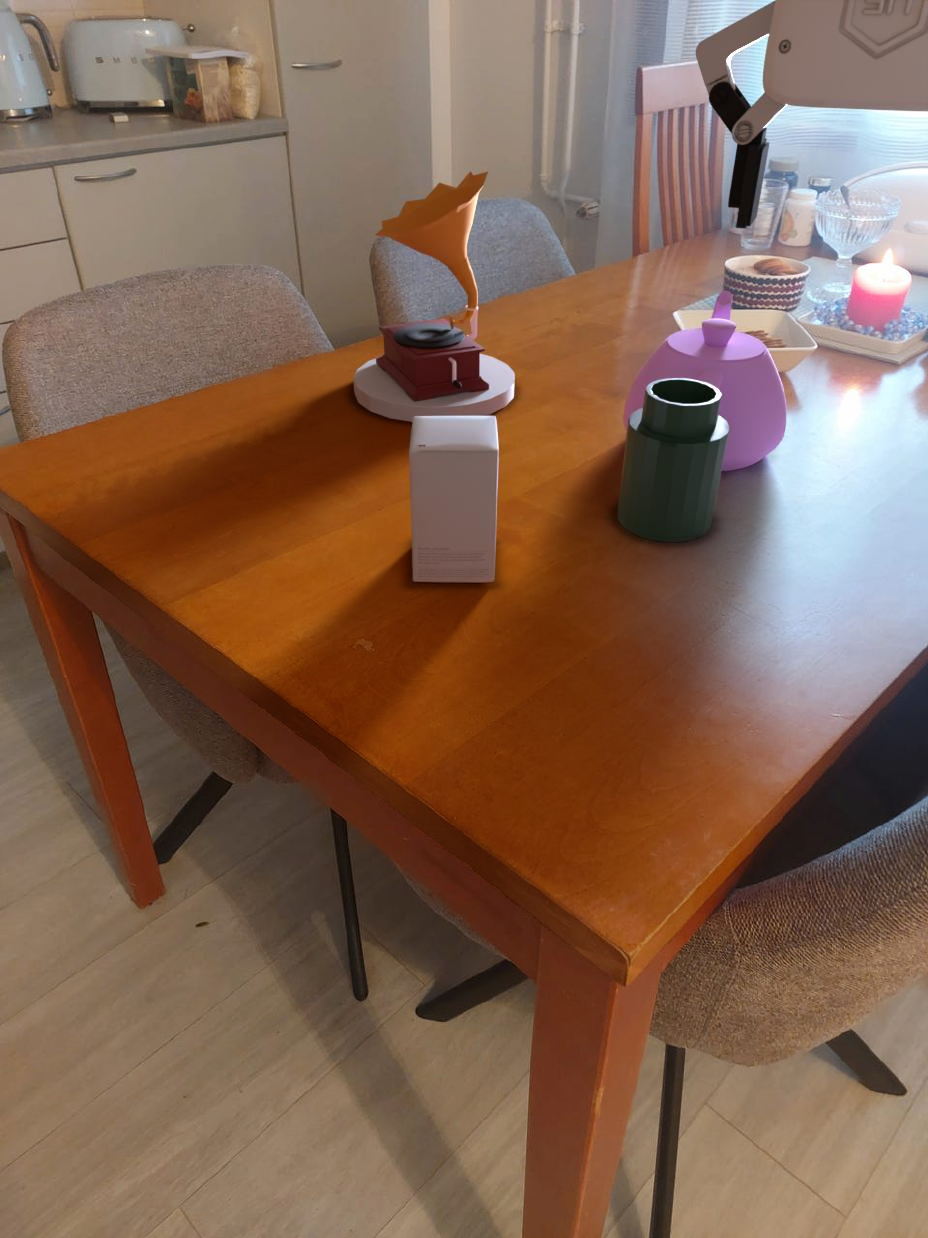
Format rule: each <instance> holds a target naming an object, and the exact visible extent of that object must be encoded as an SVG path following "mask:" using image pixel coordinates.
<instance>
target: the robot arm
mask: <svg viewBox="0 0 928 1238" xmlns="http://www.w3.org/2000/svg"><path fill="white" fill-rule="evenodd" d="M767 36H768V37H767ZM765 37H767V41H766V49H765V54H764V61H763V69H762V88H763V91H764V93H763V94H762V95H761V96H760V97H759V98H758V99H757V100H756V101H755V102H754V103H752V105H751V104H750V102H749V101H748V100H747V98H746V97H745V96H744V94H743V93H742V91H741V90H740V88H739V86H737V84H736V82H735V80H734V77H733V74H732V72H733V71H732V69H731V60H732V57H733V56H734V55H735V54H736V53H738V52H740V51H741V50H743V49H745V48H747V47H749V46H751V45H753V44H755V43H756V42H759V41H760V40H762V39H764V38H765ZM695 57H696V61H697V65H698V67H699V71H700V73H701V78H702V80H703V83H704V86H705V88H706V92H707V94H708V95H707V96H708V102H709V104H710V106H711V107H712V109H713V110H714V111H715V113H716V114H717V116H718V117H719V118H720V120H721V122H723V124H724V125H725V127H726V128H727V130H728V131H729V132H730V134H731V137H732V140H733V141H734V142H735V143H736V148H735V149H736V150H735V155H734V163H733V169H732V175H731V182H730V188H729V195H728V202H727V208H731V209H737V210H738V212H737V216H736V217H737V218H736V223H735V228H736V229H744V230H745V229H747V228H748V227H752V224H753V223H754V221H756V218H757V215H758V211H759V206H760V200H761V194H762V188H763V184H764V183H763V182H764V176H765V171H766V166H767V161H768V153H769V149H770V141H767V138H766V136H767V131H768V128H767V126H768V125H769V124H770V123H771V122H772V121H773V120H774V119H775V117H776V116H778V115H779V114H780V112H782V111H783V109H784V108H785V107H787V106H792V107H800V108H802V107H803V108H819V109H844V110H845V109H846V110H866V111H867V110H870V111H894V112H895V111H896V112H897V111H899V112H928V0H774V1H771V2H770V3H768V4H766V5H764V6H762V7H760V8H758V9H757V10H755V11H753V12H752V13H750V14H748V15H746V16H744V17H743V18H741V19H739V20H737V21H734V22H733V23H732V24H730V25H728V26H727V27H723V28H722V29H721V30H719V31H717V32H715V33H713V34H712V35H710V36H708V37H706V38H705V39H702V40H701V41H700V42H698V44H697V46H696V48H695Z"/></svg>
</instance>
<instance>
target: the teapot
mask: <svg viewBox="0 0 928 1238" xmlns="http://www.w3.org/2000/svg"><path fill="white" fill-rule="evenodd" d="M732 306H733V294H732V292H731V291H729V290H723V291H721V292H719V293H718V295H717V297H716V300H715V303H714V307H713V311H712V314H711V317H710V318H708V319H705V320H703V321H701V327H699V328H687V329H682V330H677V331H676V332H673V333H672V334H670V335H668V336H667V337H666V338H665V339H664V340H663V341H662V343H661V344H659V346H657V348H656V349H655V350H654V351H653V353H652V354H651V355H650V356H649V358H648V359H647V360H646V362H645V363H644V364H643V365H642V367H641V369H640V370H639V372H638V373H637V375H636V377H635V378H634V381H633V383H632V384H631V387H630V389H629V391H628V393H627V397H626V400H625V404H624V408H623V415H622V422H623V426H624V429H625V431H626V432H627V426H628V419H629V417H630V415H631V414H632V413H633V412H634V411H636V410H638V409H640V408H643V403H644V396H645V389H646V387H647V386H648V384H650V383H652V382H654V381H656V380H661V379H667V378H686V379H693V380H698V381H702V382H705V383H708V384H711V385H712V386H714V387H716V388H718V389H719V391H720V392H721V394H722V396H721V402H720V408H719V413H718V415H719V416H721V417H722V418H723V419H725V420H726V421H727V423H728V425H729V428H730V429H729V434H728V440H727V445H726V450H725V456H724V461H723V466H722V471H721V472H729V471H730V472H731V471H736V470H740V469H746V468H748V467H750V466H753V465H755V464H756V463H758V462H759V461H761V460H762V459H764V458H765V457H766V456H768V455H769V454H771V453H772V452H773V451H774V450H775V449H776V448H777V447H778V446H779V445H780V444H781V443H782V441H783V439H784V437H785V431H786V427H787V414H788V412H787V400H786V395H785V394H786V393H785V389H784V385H783V382H782V380H781V376H780V374H779V372H778V368H777V366H776V364H775V362H774V359H773V356H772V355H771V352H770V351H769V349H768V347H767V345H765V343H764V342H762V341H761V340H760V339H759V338H758V337H755V336H753V335H750V334H748V333H744V332H741V331H736V329H737V323H735V322H734V321H732V320H731V312H732V311H731V310H732Z"/></svg>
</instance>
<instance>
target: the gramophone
mask: <svg viewBox="0 0 928 1238" xmlns="http://www.w3.org/2000/svg"><path fill="white" fill-rule="evenodd" d="M488 174H489V171H485V172H480V173H478V174H473V173H472V171H471V170H470V171H469V172H468V174H467V175H466V176H465V177H464V178H463V179H462V180H461V182H460V183H458V185H457V186H456V187H455V186H452V185H449V184H445V183H442V182H439V183H437V185H436V186H435V187H434V188H433V189H432V190H431V191H430V192H429V194H428V195H427V196H426V197H425V198H422V199H414V200H413V199H412V200H408V201H407V200H406V201H405V203H403V206H402V208H401V211H400V212H399V214H398V216H396V217H391V218H388V219H385V220H381V226H382V229H380V230H379V231H377V232H376V233H375V234H374V236H377V237H385V238H389V239H391V240H393V241H395V242H397V243H399V244H401V245H404V246H405V247H408V248H409V249H411V250H414V251H416V252H417V253H420V254H422V255H426V256H429V257H430V258H433V259H434V260H437V261H439V262H440V263H442V264H443V265H444V266H445V267H447V269H448V270H449V271H450V272H451V273H452V275H453V276H454V277H455V279H456V280H457V281H458V283H459V284H460V286H461V288H462V289H463V290H464V292H465V294H466V295H467V305H465V306H464V309H465V313H464V316H463V317H462V318H460V319H457V320H455V319H454V316H453V315H450V317H449V321H448V320H447V319H446V318H437V319H430V320H429V319H428V320H421V321H413V322H405V323H398V324H397V323H396V324H390V325H389V324H388V325H382V326H378V330H379V331H381V332H382V334H383V354H382V355H381V356H378V357H376V358H373V359H370V360H368V361H367V362H365V363H364V364H363V365H361V366H360V367H359V368H357V369H356V371H355V374H354V376H353V378H352V379H353V392H354V393H353V394H354V396H355V398H356V400H357V403H358V404H360V405H361V406H362V407H364V408H365V409H366V410H368V411H369V412H371V413H373V414H375V415H376V414H377V415H380V416H382V417H385V418H387V419H393V420H398V421H405V422H411V423H413V417H414V416H490V415H492V414H493V413H495V412H497V411H500V410H501V409H504V408H505V407H507V405H509V403H510V402H511V401H512V400H513V399H514V397H515V379H516V378H515V375H516V373H515V372H514V370H513V369H512V368H511V367H510V366H509V364H508V363H505V362H504V361H501V360H499V358H496V357H494V356H490V355H487V354H484V353H482V352H485V351H486V350H485V348H484V347H483V346H482V345H481V344H479V343H477V342H476V341H475V340H476V338H477V336H478V315H479V314H478V313H479V306H478V301H479V295H478V293H479V292H478V287H477V282H476V280H475V276H474V275H475V274H474V272H473V269H472V266H471V263H470V261H469V257H468V255H467V253H468V251H467V250H468V241H469V236H470V233H471V229H472V226H473V224H474V218H475V214H476V208H477V204H478V199H479V194H480V192H481V191H482V189H483V187H484V185H485V182H486V179H487V178H488V177H487V176H488ZM468 321H469V324H470V325H469V326H470V332H471V333H470V334H466V333H465V332H464V331H463V330H462V329H460V328H458V327H456V326H455V324H465V323H466V322H468Z"/></svg>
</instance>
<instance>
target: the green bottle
mask: <svg viewBox="0 0 928 1238" xmlns="http://www.w3.org/2000/svg"><path fill="white" fill-rule="evenodd" d="M721 396H722V394H721V392H720V391H719V389H718V388H716V387H714V386H712V385H711V384H708V383H705V382H702V381H698V380H693V379H686V378H667V379H661V380H656V381H654V382H652V383H650V384H648V386H647V387H646V389H645V396H644V403H643V408H640V409H638V410H636V411H634V412H633V413H632V414H631V415H630V417H629V419H628V426H627V431H626V435H625V443H624V444H625V445H624V452H623V461H622V462H623V463H622V469H621V476H620V477H621V478H620V485H619V486H620V487H619V495H618V503H617V519H618V523H620V524H621V526H622V527H623V528H624V529H626V530H627V531H628V532H630V533H631V534H633V535H635V536H639V537H640V538H643V539H646V540H650V541H655V542H661V543H684V542H691V541H693V540H696V539H699V538H701V537H704V535H705V534H707V533H708V532H709V531H710V529H711V526H712V521H713V519H714V514H715V508H716V504H717V497H718V492H719V487H720V481H721V477H722V472H723V471H722V466H723V461H724V456H725V450H726V445H727V440H728V434H729V429H730V428H729V425H728V423H727V421H726V420H725V419H723V418H722V417H721V416H719V415H718V413H719V408H720V402H721Z"/></svg>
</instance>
